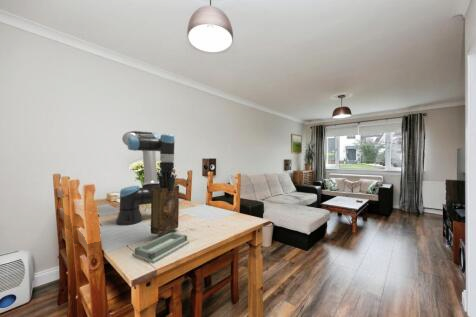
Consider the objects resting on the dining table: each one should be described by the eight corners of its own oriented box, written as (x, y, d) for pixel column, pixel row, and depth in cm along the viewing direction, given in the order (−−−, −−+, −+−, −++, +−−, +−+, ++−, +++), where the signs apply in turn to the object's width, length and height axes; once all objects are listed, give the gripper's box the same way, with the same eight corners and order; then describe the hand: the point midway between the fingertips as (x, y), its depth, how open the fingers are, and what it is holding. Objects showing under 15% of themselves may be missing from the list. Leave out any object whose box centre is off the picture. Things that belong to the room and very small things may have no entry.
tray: (132, 254, 88) (132, 247, 88) (169, 237, 108) (169, 231, 108) (154, 263, 82) (154, 255, 82) (189, 242, 101) (189, 236, 101)
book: (172, 225, 121) (173, 184, 121) (179, 226, 119) (180, 185, 118) (150, 234, 106) (151, 188, 106) (157, 236, 104) (158, 189, 103)
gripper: (153, 161, 111) (152, 202, 112) (170, 162, 105) (169, 206, 106) (163, 161, 118) (162, 200, 118) (180, 162, 112) (179, 203, 112)
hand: (166, 202), depth 112 cm, fingers closed
